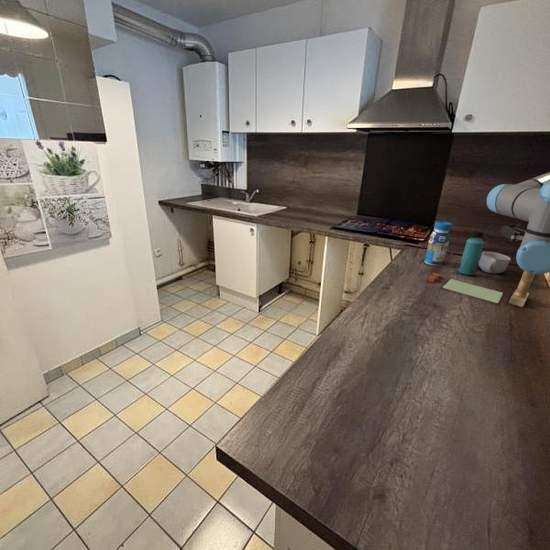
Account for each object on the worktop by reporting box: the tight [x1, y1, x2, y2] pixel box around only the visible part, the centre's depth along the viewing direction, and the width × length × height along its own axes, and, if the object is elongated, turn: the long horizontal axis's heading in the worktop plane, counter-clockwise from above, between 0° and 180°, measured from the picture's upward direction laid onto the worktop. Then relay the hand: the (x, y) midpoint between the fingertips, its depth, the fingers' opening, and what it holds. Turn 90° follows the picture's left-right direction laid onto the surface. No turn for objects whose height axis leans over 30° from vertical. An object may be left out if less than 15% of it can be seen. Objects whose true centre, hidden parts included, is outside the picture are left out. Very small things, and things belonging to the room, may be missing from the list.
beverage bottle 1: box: [423, 221, 452, 267], centre depth 138 cm, size 8×8×20 cm
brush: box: [508, 270, 536, 308], centre depth 102 cm, size 4×10×15 cm, turn 134°
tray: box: [442, 278, 504, 304], centre depth 112 cm, size 18×12×1 cm, turn 47°
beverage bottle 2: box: [458, 230, 485, 276], centre depth 124 cm, size 6×7×20 cm
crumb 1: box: [427, 274, 437, 283], centre depth 119 cm, size 2×2×2 cm
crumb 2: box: [431, 272, 441, 280], centre depth 122 cm, size 2×2×2 cm
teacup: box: [478, 251, 512, 275], centre depth 131 cm, size 14×11×8 cm
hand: (546, 231), depth 87 cm, fingers open, 13 cm apart
